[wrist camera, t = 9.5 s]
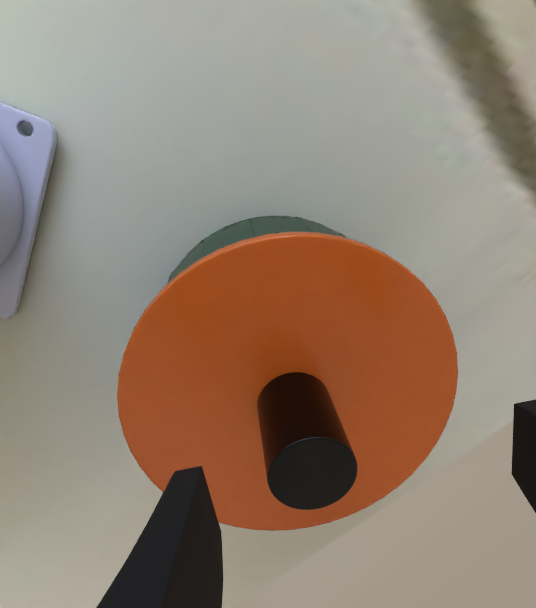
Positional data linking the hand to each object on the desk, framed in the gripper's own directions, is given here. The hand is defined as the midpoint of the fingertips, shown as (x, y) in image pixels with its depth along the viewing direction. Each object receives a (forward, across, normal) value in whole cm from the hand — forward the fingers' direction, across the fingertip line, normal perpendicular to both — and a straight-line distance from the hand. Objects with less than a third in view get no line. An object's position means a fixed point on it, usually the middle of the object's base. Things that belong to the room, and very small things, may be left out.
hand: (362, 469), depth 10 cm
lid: (+5, +1, +1) cm, 5 cm away
